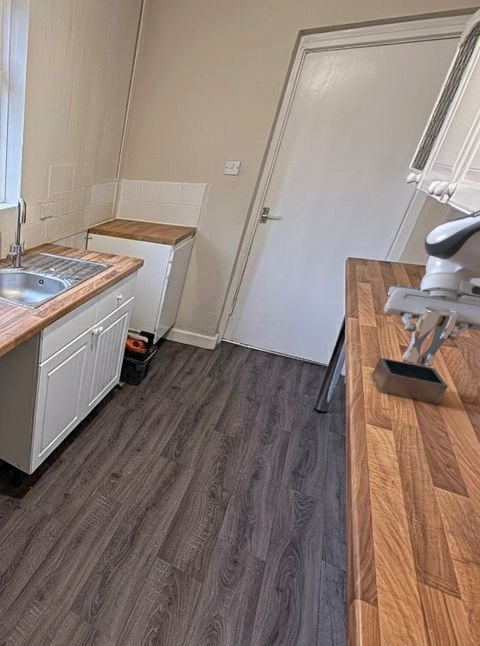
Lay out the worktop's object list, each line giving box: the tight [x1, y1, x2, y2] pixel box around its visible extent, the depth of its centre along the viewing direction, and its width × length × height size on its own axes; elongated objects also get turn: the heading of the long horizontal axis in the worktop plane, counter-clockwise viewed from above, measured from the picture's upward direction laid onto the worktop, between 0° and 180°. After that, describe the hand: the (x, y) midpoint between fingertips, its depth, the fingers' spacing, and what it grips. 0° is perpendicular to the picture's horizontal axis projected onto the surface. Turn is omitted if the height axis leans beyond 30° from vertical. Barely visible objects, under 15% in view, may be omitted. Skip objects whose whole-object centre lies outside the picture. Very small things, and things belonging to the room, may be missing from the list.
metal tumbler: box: [401, 307, 460, 367], centre depth 111 cm, size 7×7×15 cm
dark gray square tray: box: [372, 357, 449, 405], centre depth 116 cm, size 12×12×6 cm
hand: (430, 334), depth 110 cm, fingers closed on metal tumbler, 7 cm apart
